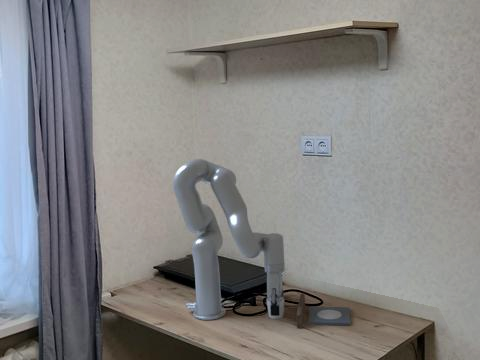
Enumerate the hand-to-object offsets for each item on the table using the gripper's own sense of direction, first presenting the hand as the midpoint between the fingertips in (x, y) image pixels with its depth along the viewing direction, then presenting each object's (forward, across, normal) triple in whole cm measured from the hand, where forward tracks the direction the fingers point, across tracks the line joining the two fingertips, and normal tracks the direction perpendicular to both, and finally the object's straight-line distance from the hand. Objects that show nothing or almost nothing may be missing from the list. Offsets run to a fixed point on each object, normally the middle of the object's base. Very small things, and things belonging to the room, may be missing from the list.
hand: (276, 310), depth 204 cm
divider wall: (+2, 0, +9) cm, 9 cm away
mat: (+2, 0, +20) cm, 20 cm away
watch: (+2, -18, -2) cm, 18 cm away
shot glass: (+2, 0, 0) cm, 2 cm away
